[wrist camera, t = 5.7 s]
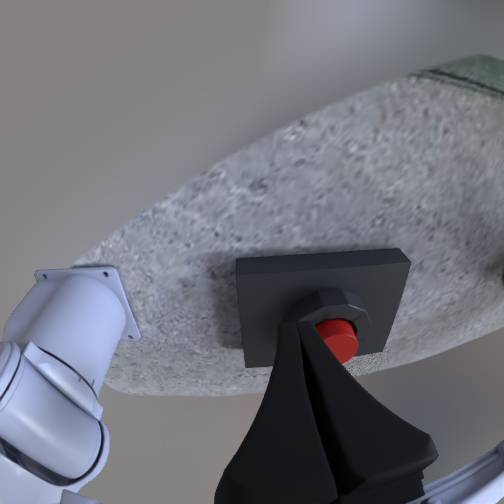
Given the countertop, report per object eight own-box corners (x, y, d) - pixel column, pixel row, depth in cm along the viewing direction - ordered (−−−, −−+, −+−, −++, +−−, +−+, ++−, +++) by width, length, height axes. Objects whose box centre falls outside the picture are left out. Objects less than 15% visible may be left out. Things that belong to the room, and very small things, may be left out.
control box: (245, 349, 26) (245, 384, 22) (236, 257, 21) (235, 291, 17) (375, 335, 26) (388, 365, 22) (399, 247, 21) (422, 275, 17)
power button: (303, 353, 21) (307, 370, 19) (307, 320, 19) (312, 338, 18) (347, 347, 21) (353, 364, 19) (355, 314, 19) (363, 331, 18)
